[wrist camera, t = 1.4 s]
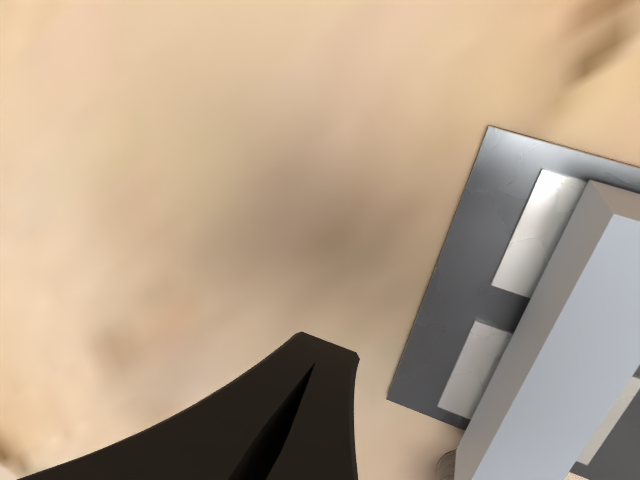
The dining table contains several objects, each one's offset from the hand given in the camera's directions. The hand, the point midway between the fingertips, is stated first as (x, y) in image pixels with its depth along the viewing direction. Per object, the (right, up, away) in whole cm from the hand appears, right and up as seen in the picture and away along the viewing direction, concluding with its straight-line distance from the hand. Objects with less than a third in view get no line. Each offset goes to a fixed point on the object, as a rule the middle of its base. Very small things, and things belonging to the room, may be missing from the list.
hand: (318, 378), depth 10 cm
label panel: (+9, 0, +7) cm, 12 cm away
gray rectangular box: (+8, -1, +7) cm, 11 cm away
